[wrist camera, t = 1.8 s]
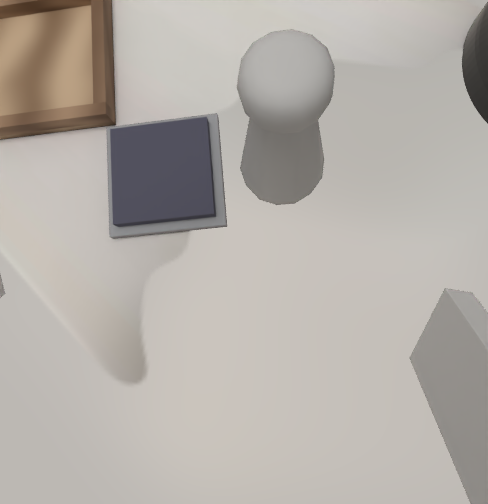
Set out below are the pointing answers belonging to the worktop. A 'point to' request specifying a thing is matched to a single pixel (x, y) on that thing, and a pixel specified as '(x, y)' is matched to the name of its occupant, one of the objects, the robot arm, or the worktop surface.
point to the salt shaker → (284, 114)
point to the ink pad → (165, 176)
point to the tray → (55, 66)
